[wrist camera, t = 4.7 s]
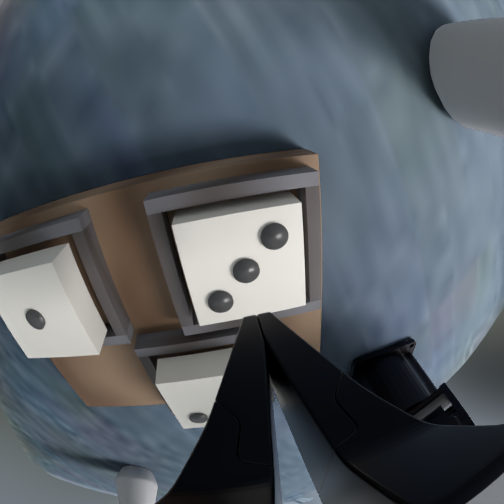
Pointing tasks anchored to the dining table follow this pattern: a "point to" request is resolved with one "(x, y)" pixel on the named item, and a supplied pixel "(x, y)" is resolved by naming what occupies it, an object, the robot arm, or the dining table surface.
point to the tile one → (49, 305)
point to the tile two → (191, 384)
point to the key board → (161, 265)
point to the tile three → (242, 256)
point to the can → (470, 72)
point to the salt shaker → (136, 486)
